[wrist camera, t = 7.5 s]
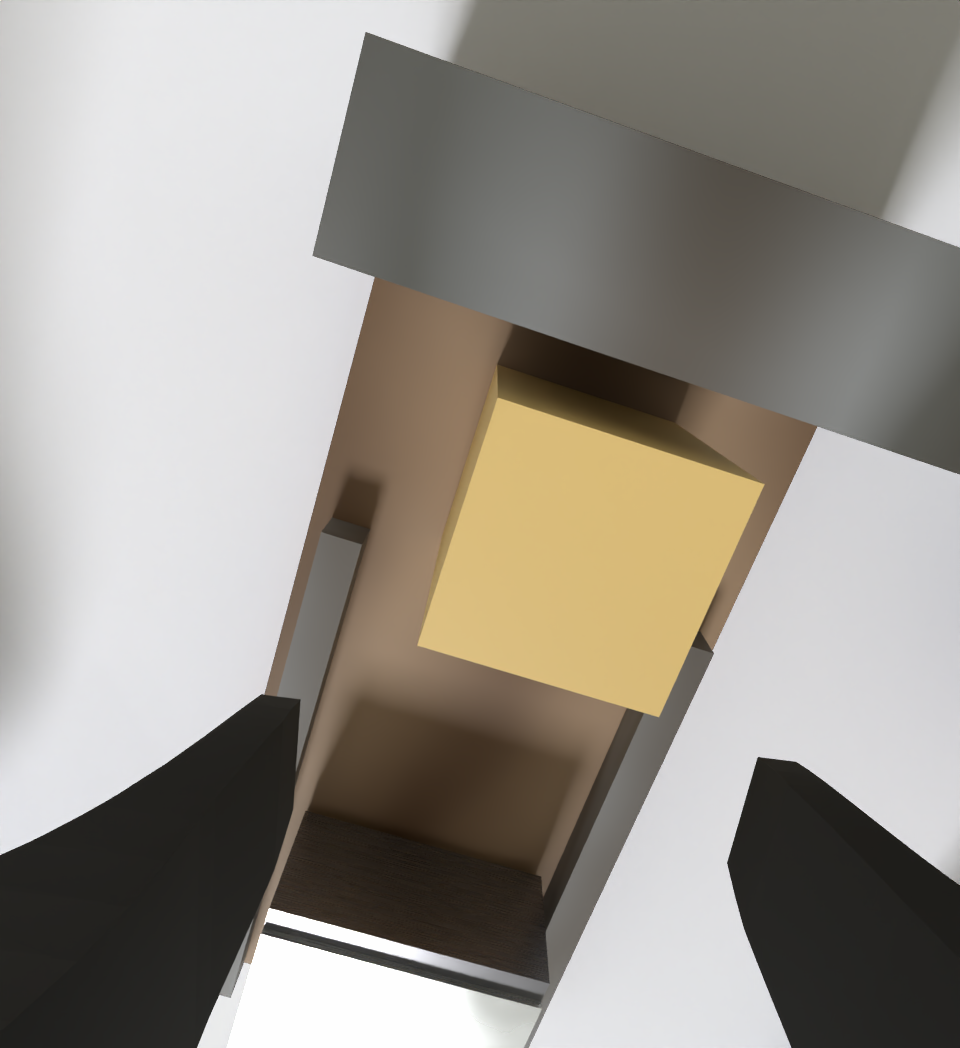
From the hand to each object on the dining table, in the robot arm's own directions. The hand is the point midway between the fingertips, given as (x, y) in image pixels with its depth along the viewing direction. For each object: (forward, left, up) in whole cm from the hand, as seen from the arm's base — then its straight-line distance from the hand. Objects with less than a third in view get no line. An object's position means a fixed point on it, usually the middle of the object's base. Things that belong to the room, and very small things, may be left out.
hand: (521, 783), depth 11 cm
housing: (0, +3, -8) cm, 8 cm away
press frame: (0, -2, -9) cm, 10 cm away
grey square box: (0, -11, -8) cm, 13 cm away
